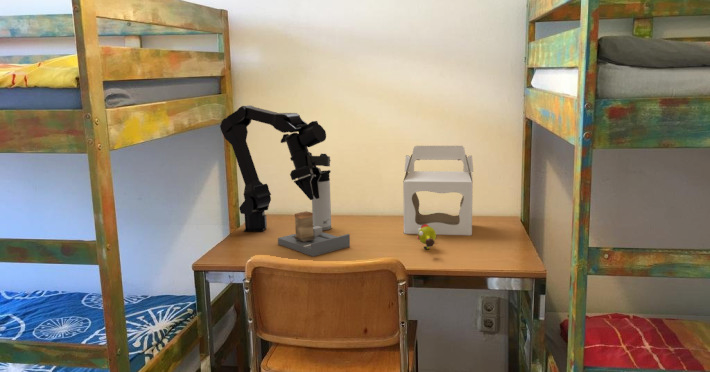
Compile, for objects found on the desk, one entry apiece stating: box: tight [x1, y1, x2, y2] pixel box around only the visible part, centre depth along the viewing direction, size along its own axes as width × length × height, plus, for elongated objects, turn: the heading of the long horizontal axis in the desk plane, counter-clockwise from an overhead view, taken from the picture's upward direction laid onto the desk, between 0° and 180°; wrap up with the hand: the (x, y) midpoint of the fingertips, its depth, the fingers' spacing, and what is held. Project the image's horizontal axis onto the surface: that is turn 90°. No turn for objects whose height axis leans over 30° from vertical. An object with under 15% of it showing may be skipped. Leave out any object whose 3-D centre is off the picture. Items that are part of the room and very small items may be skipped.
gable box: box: [402, 145, 474, 236], centre depth 195 cm, size 22×13×28 cm, turn 79°
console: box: [277, 226, 351, 257], centre depth 182 cm, size 18×14×4 cm
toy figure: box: [416, 224, 437, 251], centre depth 176 cm, size 18×6×7 cm, turn 178°
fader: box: [294, 210, 315, 242], centre depth 181 cm, size 5×4×8 cm
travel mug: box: [311, 169, 332, 232], centre depth 200 cm, size 6×7×20 cm
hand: (315, 199), depth 185 cm, fingers open, 9 cm apart
